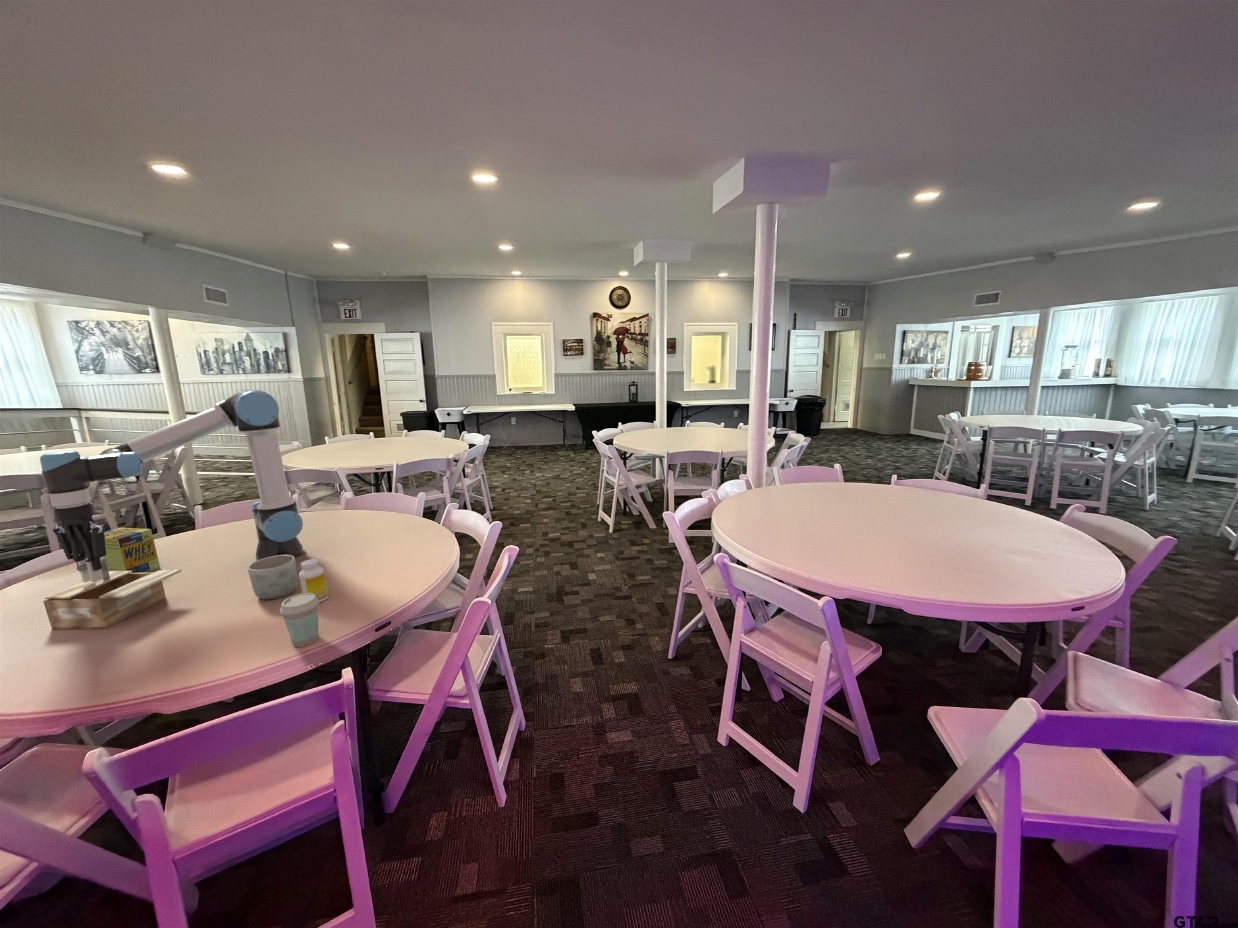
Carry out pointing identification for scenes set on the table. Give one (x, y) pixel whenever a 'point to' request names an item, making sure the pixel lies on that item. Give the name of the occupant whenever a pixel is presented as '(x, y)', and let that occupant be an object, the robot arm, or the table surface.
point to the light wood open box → (108, 602)
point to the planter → (273, 576)
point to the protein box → (131, 550)
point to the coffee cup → (301, 618)
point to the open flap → (88, 585)
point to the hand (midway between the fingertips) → (93, 580)
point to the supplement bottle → (313, 579)
